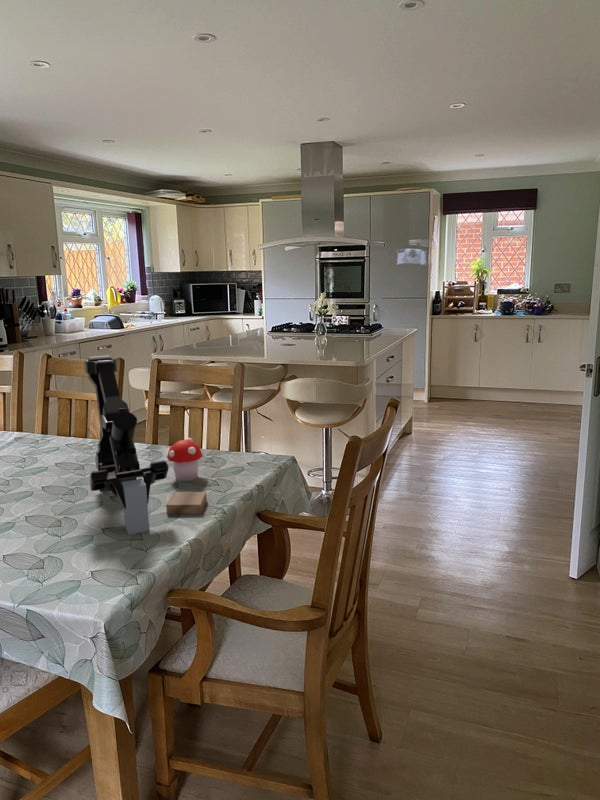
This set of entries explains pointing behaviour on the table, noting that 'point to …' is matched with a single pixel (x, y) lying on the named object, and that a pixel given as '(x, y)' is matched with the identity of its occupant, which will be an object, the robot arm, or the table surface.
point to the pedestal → (186, 503)
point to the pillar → (135, 506)
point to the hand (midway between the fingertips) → (136, 505)
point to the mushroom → (185, 459)
